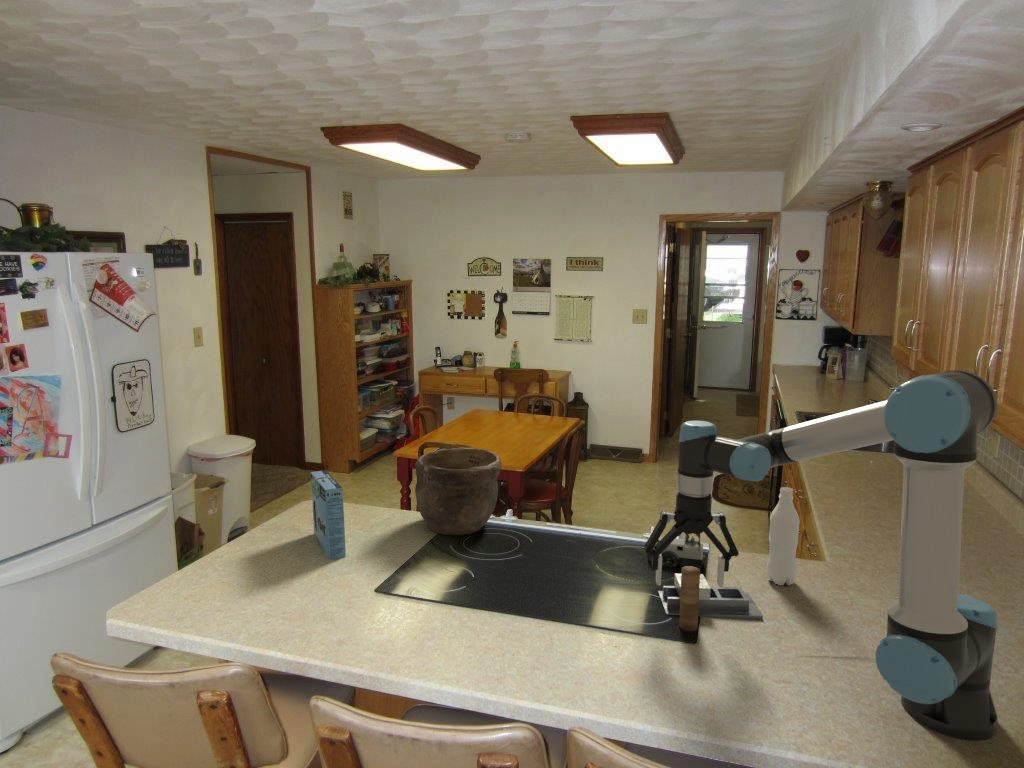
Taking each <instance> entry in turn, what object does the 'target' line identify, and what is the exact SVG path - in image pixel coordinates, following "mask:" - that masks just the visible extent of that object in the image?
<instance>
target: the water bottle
mask: <svg viewBox="0 0 1024 768" xmlns="http://www.w3.org/2000/svg"><path fill="white" fill-rule="evenodd" d="M779 492H780V493H779V495H778V498H779V500H778V502H777V504H776V506H775V507H774V509H773V510H772V511H771V513H770V516H769V536H768V544H769V556H768V560H767V564H766V575H767V579H768V580H770V581H773V582H774V585H776V584H778V585H777V586H779V585H783V586H784V585H787V584H788V585H787V586H791V584H792V585H793V583H794V582H795V580H796V578H797V563H796V561H797V560H796V554H797V548H798V544H799V533H800V532H799V531H800V530H799V529H800V524H801V523H800V521H801V520H800V516H799V514H798V512H797V509H796V507H795V505H794V502H793V500H794V489H793V488H791V487H786V486H781V487H780V489H779ZM770 581H769V582H770Z"/></svg>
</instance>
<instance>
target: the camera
mask: <svg viewBox="0 0 1024 768" xmlns="http://www.w3.org/2000/svg"><path fill="white" fill-rule="evenodd" d="M684 534H685V533H684ZM695 536H696V537H698V540H695V538H694V536H693V535H692V536H691V539H690V534H685V537H684V539H683V538H675V539H674V540H673V541H672V543H671V544H670V545H669V546H668V547H667V548H666V549H665V550H664V551H663V552H662V553H661V556H662V566H664V567H665V566H666V567H671V568H678V567H682V566H683V567H685V566H693V567H697V568H699V569H700V570H702V565H703V559H704V558H705V557H706V556H705V554H704V552H703V551H704V543H703V541H702V540H701V533H700V534H695ZM663 537H664V536H660V537H659V539H658V541H657V543H658V542H659V541H660V540H661V539H662V538H663ZM657 543H656V544H657ZM656 544H655V545H656ZM647 559H648V562H651V563H652V555H651V554H647Z"/></svg>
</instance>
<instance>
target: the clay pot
mask: <svg viewBox="0 0 1024 768" xmlns="http://www.w3.org/2000/svg"><path fill="white" fill-rule="evenodd" d="M414 465H415V475H416V477H417V478H418V479H417V480H416V484H415V487H414V493H415V499H416V505H417V508H418V510H419V513H420V515H421V517H422V519H423V521H424V522H425V524H426V526H427V527H428V528H429V529H430V530H431V531H432V532H435V533H437V534H441V535H446V536H447V535H448V536H465V535H469V534H474V533H476V532H479V531H480V530H481V529H482V528H483V527H484V526H485V525H487V523H488V521H489V519H490V518H491V516H492V515H493V513H494V511H495V508H496V505H497V501H498V493H499V484H498V481H497V480H498V477H499V475H500V474H501V469H502V461H501V457H500V456H499V455H498V454H497V453H494V452H493V451H490V450H488V449H482V448H478V447H458V448H456V447H455V448H454V447H452V448H440V449H437V450H433V451H431V452H427V453H425V454H423V455H420V456H419V458H417V461H416V462H415V463H414Z"/></svg>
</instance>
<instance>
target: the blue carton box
mask: <svg viewBox="0 0 1024 768" xmlns="http://www.w3.org/2000/svg"><path fill="white" fill-rule="evenodd" d="M310 480H311V499H312V516H313V517H312V518H313V534H314V537H315V538H316V541H317V543H318V545H319V547H320V549H321V551H322V552H323V554H324V556H325V557H326V558H327V560H334V559H342V558H346V556H347V554H346V533H345V532H346V531H345V513H344V512H345V511H344V510H345V509H344V493H343V492H344V491H343V487H342V486H341V485H340V484H339V482H338V481H337V480H336V479H335V478H334V477H333V476H332V475H331V473H329V472H328V470H318V471H310Z"/></svg>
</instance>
